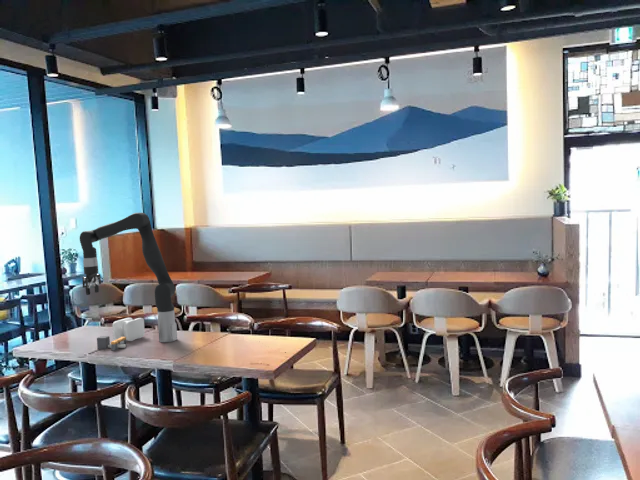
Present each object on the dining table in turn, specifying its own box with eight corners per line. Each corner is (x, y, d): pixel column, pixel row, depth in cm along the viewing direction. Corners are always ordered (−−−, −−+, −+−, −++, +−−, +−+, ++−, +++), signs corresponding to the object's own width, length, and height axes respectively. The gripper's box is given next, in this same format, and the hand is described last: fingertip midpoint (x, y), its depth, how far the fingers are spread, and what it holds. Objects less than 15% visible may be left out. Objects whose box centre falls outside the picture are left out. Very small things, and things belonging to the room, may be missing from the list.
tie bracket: (126, 345, 290) (126, 336, 290) (115, 350, 279) (115, 342, 279) (122, 345, 290) (122, 336, 290) (111, 350, 279) (110, 342, 279)
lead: (127, 346, 286) (126, 336, 286) (123, 348, 282) (122, 337, 282) (101, 346, 288) (100, 336, 288) (97, 348, 284) (96, 337, 284)
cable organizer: (127, 343, 295) (125, 322, 295) (112, 341, 299) (111, 321, 298) (145, 336, 309) (144, 317, 308) (131, 335, 313) (129, 316, 312)
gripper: (89, 266, 292) (91, 295, 293) (103, 264, 306) (105, 291, 307) (77, 267, 293) (79, 295, 294) (92, 264, 307) (93, 291, 308)
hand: (92, 293), depth 301 cm, fingers open, 8 cm apart
